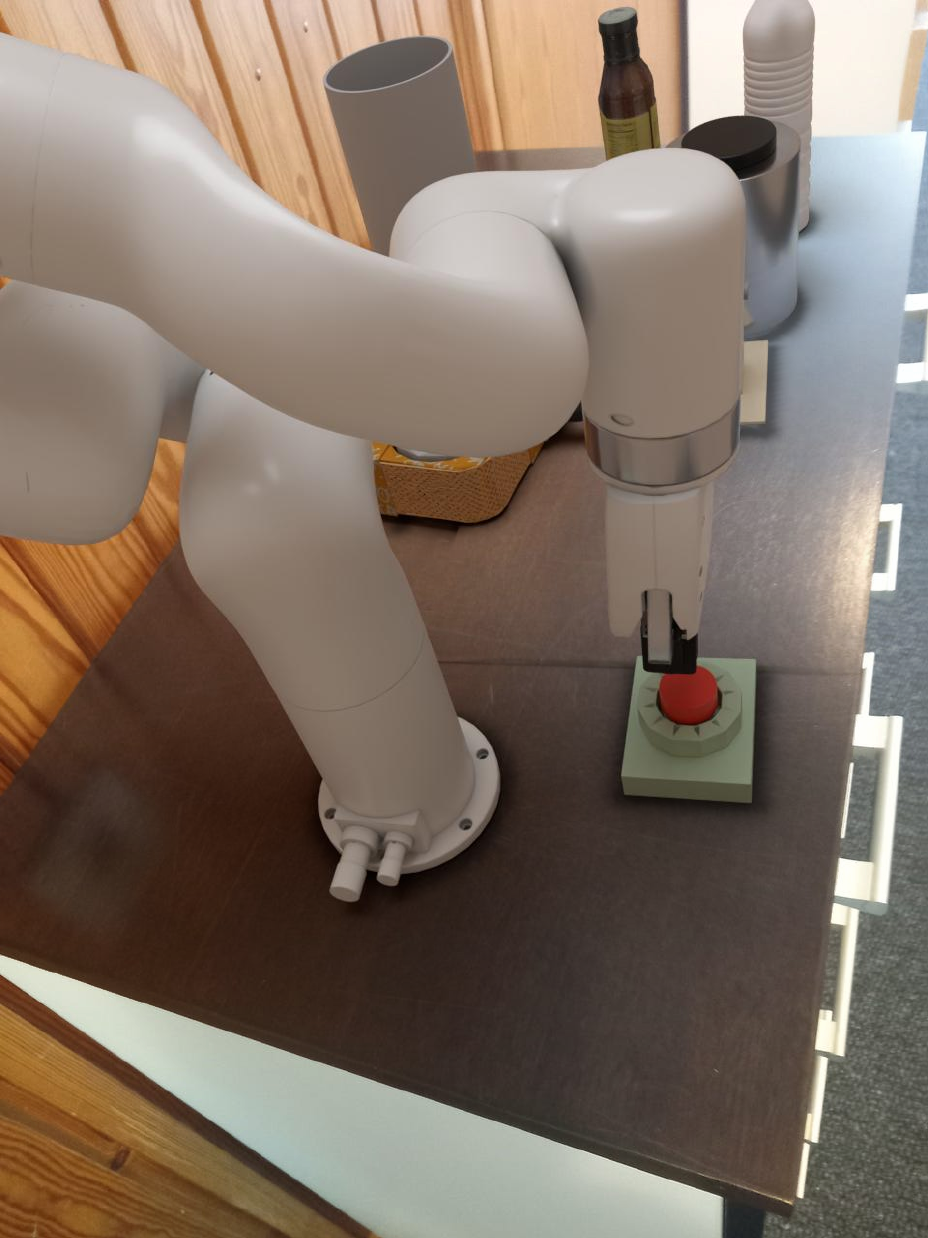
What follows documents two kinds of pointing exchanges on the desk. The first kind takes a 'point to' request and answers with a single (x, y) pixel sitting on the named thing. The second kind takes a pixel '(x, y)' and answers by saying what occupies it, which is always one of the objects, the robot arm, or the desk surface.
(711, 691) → the power button
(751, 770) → the push button block
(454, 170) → the cylinder vase
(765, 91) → the water bottle
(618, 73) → the sauce bottle
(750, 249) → the silver metal cylinder
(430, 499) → the device
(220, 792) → the desk surface
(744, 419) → the lever stand
